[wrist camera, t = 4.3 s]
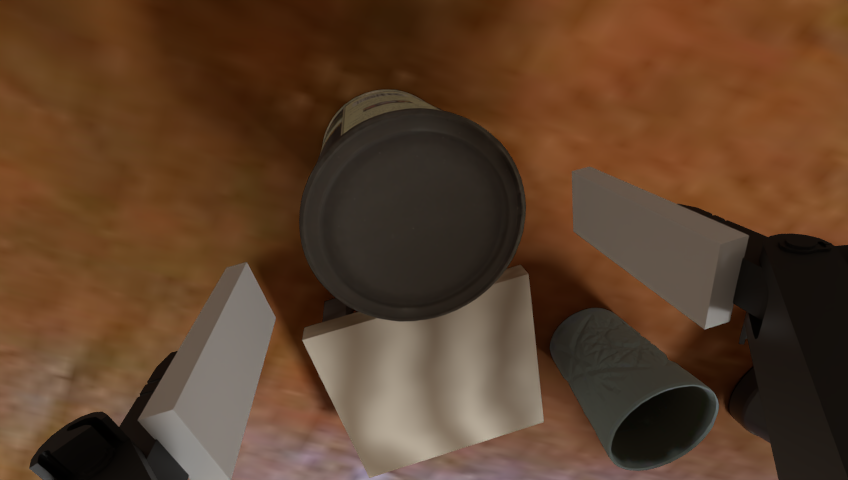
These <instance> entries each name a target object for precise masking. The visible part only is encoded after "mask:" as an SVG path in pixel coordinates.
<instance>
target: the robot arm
mask: <svg viewBox="0 0 848 480" xmlns="http://www.w3.org/2000/svg"><path fill="white" fill-rule="evenodd" d="M572 193H573V229H574V232H575V233H576V234H578V235H579V236H580V237H582V238H583V239H584V240H586V241H587V242H588V243H590V244H591V245H592V246H594V247H595V248H596V249H598V250H599V251H600V252H602V253H603V254H604V255H606V256H607V257H608V258H610V259H611V260H612V261H614V262H615V263H616V264H618V265H619V266H620V267H622V268H623V269H624V270H626V271H627V272H628V273H630V274H631V275H632V276H634V277H635V278H636V279H638V280H639V281H640V282H642V283H643V284H644V285H646V286H647V287H648V288H650V289H651V290H652V291H654V292H655V293H656V294H658V295H659V296H660V297H662V298H663V299H664V300H666V301H667V302H668V303H670V304H671V305H672V306H674V307H675V308H676V309H678V310H679V311H680V312H682V313H683V314H684V315H686V316H687V317H688V318H690V319H691V320H692V321H694V322H695V323H696V324H698V325H699V326H700V327H702V328H703V329H704V330H705V329H708V328H711V327H714V326H717V325H720V324H724V323H727V322H730V318H731V313H732V309H733V304H735V305H737V306H739V307H740V308H742V309H743V310H745V311H746V315H745V319H744V323H743V327H742V331H741V335H740V340H739V344H744V343H745V339H748V343H749V348H750V352H751V357H752V361H753V366H754V368H752V369H751V370H750V371H749V372H748V373H747V374H746V375H745V376H744V377H743V379H742V380H741V381H740V382H739V384H738V385H737V387H736V388H735V390H734V392H733V394H732V396H731V399H730V403H729V411H730V414H731V415H732V417H733V418H734V419H735V420H736V421H737V422H738V423H740V424H741V425H742V426H743V427H744V428H745V429H746V430H748V431H749V432H750V433H752V434H754V435H757V436H759V437H761V438H763V439H764V440H766V441H768V442H769V443H771V447H772V452H773V456H774V461H775V465H776V470H777V474H778V479H779V480H848V245H842V246H834V245H832V244H831V243H829V242H827V241H825V240H822V239H820V238H816V237H812V236H808V235H800V234H778V235H773V236H770V237H766V236H764V235H761V234H759V233H757V232H754V231H752V230H749V229H747V228H745V227H742V226H740V225H737V224H735V223H733V222H730V221H728V220H727V221H725V220H724V219H723V218H721V217H718V216H716V215H714V216H713V215H712V214H711V213H709V212H706V211H704V210H701V209H699V208H696V207H691V206H686V205H682V204H675V203H673V202H671V201H668V200H666V199H664V198H661V197H659V196H657V195H654V194H652V193H650V192H647V191H645V190H643V189H640V188H638V187H636V186H634V185H631V184H629V183H627V182H624V181H622V180H620V179H617V178H615V177H613V176H610V175H608V174H606V173H603V172H601V171H599V170H596V169H594V168H592V167H586V168H583V169H579V170H576V171H572ZM275 319H276V317H275V315H274V313H273V312H272V310H271V308H270V306H269V304H268V302H267V300H266V298H265V296H264V294H263V292H262V290H261V288H260V286H259V285H258V283H257V281H256V279H255V277H254V275H253V273H252V271H251V269H250V267H249V265H248V263H247V262H245V263H242V264H238V265H234V266H231V267H227V268H226V269H225V271H224V273H223V275H222V276H221V278H220V280H219V281H218V283H217V285H216V287H215V288H214V290H213V292H212V293H211V295H210V297H209V299H208V300H207V302H206V304H205V305H204V307H203V309H202V311H201V312H200V314H199V316H198V317H197V319H196V321H195V323H194V324H193V326H192V328H191V329H190V331H189V333H188V335H187V336H186V338H185V340H184V341H183V343H182V345H181V346H180V348H179V350H178V351H176V352H172V353H170V354H169V355H168V356H167V357H166V358H165V359H164V360H163V361H162V362H161V363H160V364H159V365H158V366H157V367H156V369H155V370H154V372H153V374H152V375H151V377H150V378H149V380H148V382H147V383H148V384H147V385H145V386H144V388H143V390H142V391H141V393H140V397H138V398H137V399H136V401H135V402H134V404H133V406H132V407H131V409H130V410H129V412H128V414H127V415H126V417H125V419H124V420H123V422H122V423H121V425H120V427H118V426H117V424H116V423H115V422H114V421H113V420H112V419H111V418H110V417H109V416H108V415H107V414H105V413H104V412H93V413H90V414H87V415H85V416H82V417H80V418H78V419H76V420H74V421H72V422H71V423H69V424H67V425H65V426H64V427H63V428H61V429H60V430H59V431H57V432H56V433H55V434H53V435H52V436H51V437H50V438H49V439H48V440H47V441H46V442H45V443H44V444H43V445H42V446H41V447H40V448H39V449H38V451H37V452H36V454H35V455H34V456H33V458H32V459H31V463H30V467H29V469H31V470H32V471H33V472H34V473H35V474H37V475H38V476H39V477H40V478H42V479H43V480H187V479H188V477H189V478H190V479H191V480H231V479H232V475H233V471H234V468H235V464H236V460H237V457H238V453H239V450H240V446H241V442H242V439H243V435H244V432H245V428H246V424H247V421H248V417H249V413H250V410H251V406H252V403H253V399H254V395H255V392H256V388H257V385H258V381H259V377H260V374H261V370H262V366H263V363H264V359H265V356H266V352H267V348H268V345H269V341H270V338H271V334H272V330H273V327H274V323H275Z"/></svg>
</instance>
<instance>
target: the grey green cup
mask: <svg viewBox="0 0 848 480" xmlns="http://www.w3.org/2000/svg"><path fill="white" fill-rule="evenodd" d="M550 352H551V356H552V358H553V360H554V362H555V364H556V365H557V367H558V369H559V371H560V372H561V374H562V376H563V378H565V379H566V380H567V381H568V383H569V385H570V387H571V389H572V391H573V393H574V395H575V396H576V398H577V400H578V402H579V404H580V405H581V407H582V408H583V411H584V413H585V415H586V416H587V418H588V419H589V421H590V423H591V424H592V426H593V428H594V430H595V431H596V434H597V436H598V438H599V440H600V441H601V443H602V445H603V447H604V449H605V451H606V452H607V454H608V456H609V457H610V459H611V460H612V461H613V463H614V464H615V465H617V466H618V467H621V468H623V469H626V470H636V471H640V470H649V469H653V468H657V467H660V466H663V465H665V464H668V463H670V462H672V461H674V460H676V459H678V458H680V457H682V456H683V455H685V454H686V453H688V452H689V451H690V450H692V449H693V448H694V447H696V446H697V445H698V444H699V443H700V442H701V441H702V440H703V439H704V438H705V436H706V435H707V434H708V433H709V431H710V430H711V428H712V427H713V425H714V421H715V419H716V416H717V413H718V409H719V404H718V399H717V397H716V395H715V393H714V392H713V391H712V390H711V389H710V388H709V387H708V386H706V385H705V384H704V383H702V382H701V381H700V380H698V379H697V378H696V377H694V376H693V375H692V374H690V373H689V372H688V371H686V370H684V369H683V368H682V367H680V366H679V365H678V364H677V363H675V362H672V361H670V360H668V359H667V356H666V355H665V354H664V353H663V352H662V351H660V350H659V349H658V348H657V347H656V346H655V345H653V344H651V343H650V341H648V340H647V339H646V338H644V337H642V336H641V335H640V333H638V332H637V331H636V330H634V329H633V328H632V327H630V326H629V325H628V324H627V323H626V322H624V321H623V320H622V319H621V318H619V317H618V316H617V315H616V314H614V313H613V312H611V311H609V310H606V309H603V308H589V309H585V310H582V311H579V312H577V313H575V314H573V315H571V316H570V317H568V318H567V319H566V320H564V321H563V322H562V323H561V324H560V325H559V327H558V328H557V329H556V331H555V332H554V334H553V336H552V339H551V342H550Z"/></svg>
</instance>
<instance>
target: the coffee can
mask: <svg viewBox="0 0 848 480" xmlns="http://www.w3.org/2000/svg"><path fill="white" fill-rule="evenodd" d="M525 212H526V203H525V194H524V188H523V184H522V180H521V177H520V174H519V172H518V169H517V167H516V165H515V163H514V161H513V159H512V157H511V156H510V154H509V153H508V151H507V150H506V149H505V147H504V146H503V145H502V144H501V143H500V142H499V141H498V140H497V139H496V138H495V137H494V136H493V135H492V134H491V133H489V132H488V131H487V130H486V129H484V128H483V127H481V126H480V125H478V124H477V123H475V122H473V121H471V120H469V119H467V118H465V117H462V116H459V115H456V114H454V113H450V112H446V111H443V110H441V109H439V108H437V107H434V106H432V105H430V104H428V103H426V102H425V101H423V100H422V99H420V98H418V97H416V96H414V95H412V94H409V93H407V92H403V91H399V90H390V89H387V90H375V91H371V92H367V93H364V94H362V95H360V96H357V97H355V98H354V99H352V100H350V101H349V102H348V103H346V104H345V105H344V106H343V107H342V108H341V109H340V110H339V111H338V112H337V113H336V114H335V116H334V117H333V118H332V120H331V122H330V124H329V126H328V128H327V130H326V133H325V135H324V139H323V144H322V149H321V152H320V156H319V158H318V161H317V163H316V165H315V167H314V169H313V171H312V173H311V175H310V176H309V178H308V181H307V184H306V186H305V189H304V192H303V196H302V201H301V207H300V218H299V225H300V237H301V243H302V247H303V250H304V254H305V257H306V259H307V261H308V264H309V266H310V267H311V269H312V271H313V273H314V274H315V276H316V277H317V279H318V280H319V281H320V282H321V284H322V285H323V286H324V287H325V288H326V289H327V290H328V291H329V292H330V293H331V294H332V295H333V296H334V297H335V298H337V299H338V300H340V301H341V302H343V303H344V304H345V305H347V306H348V307H350V308H352V309H354V310H356V311H358V312H361V313H363V314H365V315H368V316H371V317H375V318H379V319H384V320H391V321H399V322H404V321H419V320H427V319H432V318H436V317H440V316H443V315H446V314H449V313H451V312H454V311H456V310H458V309H460V308H462V307H464V306H466V305H467V304H469V303H471V302H472V301H474V300H476V299H477V298H478V297H479V296H481V295H482V294H483V293H485V292H486V291H487V290H488V289H489V288H490V287H491V286H492V285H493V284H494V283H495V282H496V281H497V280H498V279H499V278H500V276H501V275H502V274H503V273H504V271H505V270H506V269H507V267H508V265H509V264H510V262H511V260H512V259H513V257H514V255H515V253H516V250H517V248H518V245H519V243H520V240H521V237H522V233H523V229H524V223H525Z"/></svg>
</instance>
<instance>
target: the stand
mask: <svg viewBox="0 0 848 480" xmlns="http://www.w3.org/2000/svg"><path fill="white" fill-rule="evenodd" d="M302 341H303V343H304V345H305V347H306V349H307V351H308V353H309V355H310V357H311V359H312V361H313V364H314V366H315V368H316V370H317V372H318V374H319V376H320V378H321V380H322V382H323V384H324V386H325V388H326V390H327V392H328V394H329V396H330V398H331V400H332V402H333V404H334V406H335V409H336V411H337V413H338V415H339V417H340V419H341V421H342V423H343V425H344V427H345V429H346V431H347V433H348V435H349V437H350V439H351V441H352V443H353V445H354V447H355V449H356V451H357V454H358V456H359V458H360V460H361V462H362V464H363V466H364V468H365V470H366V472H367V474H368V476H369V478H371V477H374V476H377V475H380V474H383V473H386V472H389V471H393V470H396V469H399V468H402V467H405V466H408V465H411V464H414V463H417V462H421V461H424V460H427V459H430V458H433V457H436V456H439V455H442V454H446V453H449V452H452V451H455V450H458V449H461V448H464V447H467V446H471V445H474V444H477V443H480V442H483V441H486V440H489V439H492V438H496V437H499V436H502V435H505V434H508V433H511V432H514V431H517V430H520V429H524V428H527V427H530V426H533V425H536V424H539V423H542V422H544V419H543V410H542V400H541V390H540V380H539V371H538V361H537V351H536V341H535V332H534V322H533V312H532V302H531V293H530V283H529V274H528V273H527V272H526V270H525V269H524V268H523V267H522V266H521V265H518V266H515V267H511V268H508V269H506V270H505V271H504V273H503V274H502V275H501V276H500V278H499V279H498V280H497V281H496V282H495V283H494V284H493V285H492V286H491V287H490V288H489V289H488V290H487V291H486V292H485V293H483V294H482V295H481V296H479V297H478V298H477V299H476V300H474V301H472V302H471V303H469V304H467V305H466V306H464V307H462V308H460V309H458V310H456V311H454V312H451V313H449V314H446V315H443V316H440V317H436V318H432V319H427V320H419V321H404V322H399V321H391V320H384V319H379V318H375V317H371V316H368V315H365V314H363V313H361V312H356V313H353V312H352V309H351V308H350V307H348V306H347V305H345V304H344V303H343V302H341V301H340V300H338V299H337V298H335V299H331V300H328V301H325V303H324V312H323V321H322V323H318V324H315V325H311V326H308V327H304V332H303V338H302Z"/></svg>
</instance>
